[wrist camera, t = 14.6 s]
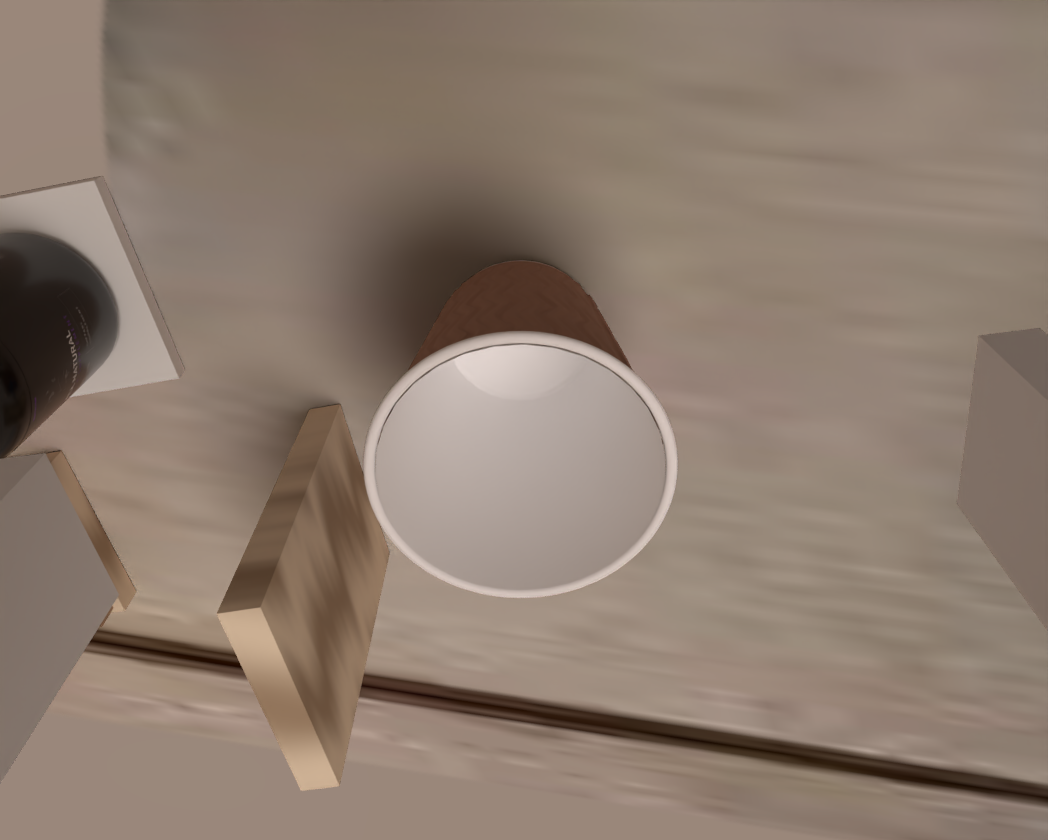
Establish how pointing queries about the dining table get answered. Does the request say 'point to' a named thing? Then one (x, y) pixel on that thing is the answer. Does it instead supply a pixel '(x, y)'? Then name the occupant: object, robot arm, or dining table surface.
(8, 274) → the supplement bottle
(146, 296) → the grey pad
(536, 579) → the coffee cup
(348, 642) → the set of wooden blocks
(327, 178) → the dining table surface
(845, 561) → the dining table surface
